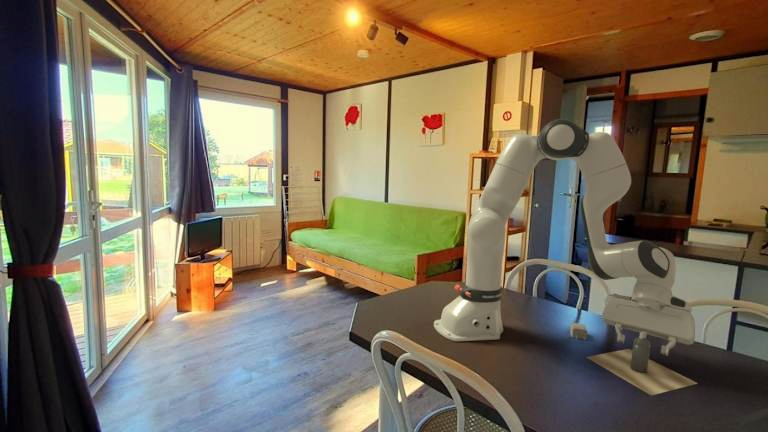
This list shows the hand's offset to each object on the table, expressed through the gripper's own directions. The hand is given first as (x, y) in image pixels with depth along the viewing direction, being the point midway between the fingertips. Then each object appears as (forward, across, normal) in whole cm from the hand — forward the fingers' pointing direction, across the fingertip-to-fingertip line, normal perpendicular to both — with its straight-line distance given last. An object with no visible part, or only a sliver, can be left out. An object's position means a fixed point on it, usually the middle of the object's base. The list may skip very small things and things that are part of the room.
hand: (641, 347), depth 96 cm
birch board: (+5, 0, +5) cm, 7 cm away
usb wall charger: (-2, -17, +12) cm, 21 cm away
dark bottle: (+4, 0, +4) cm, 6 cm away
